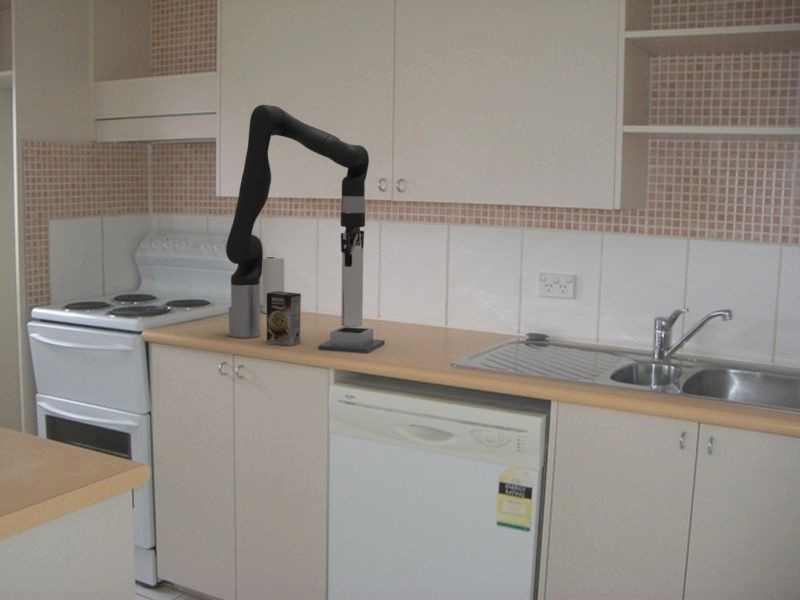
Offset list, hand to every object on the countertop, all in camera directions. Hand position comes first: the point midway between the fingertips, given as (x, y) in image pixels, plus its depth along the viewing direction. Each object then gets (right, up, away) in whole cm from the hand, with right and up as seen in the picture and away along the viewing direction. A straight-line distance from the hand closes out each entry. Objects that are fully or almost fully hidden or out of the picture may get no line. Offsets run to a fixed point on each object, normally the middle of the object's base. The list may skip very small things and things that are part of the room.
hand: (352, 265), depth 275 cm
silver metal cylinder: (0, -19, +3) cm, 19 cm away
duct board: (0, -25, +4) cm, 25 cm away
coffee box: (-22, -25, +7) cm, 34 cm away
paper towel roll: (-34, -16, +66) cm, 77 cm away
